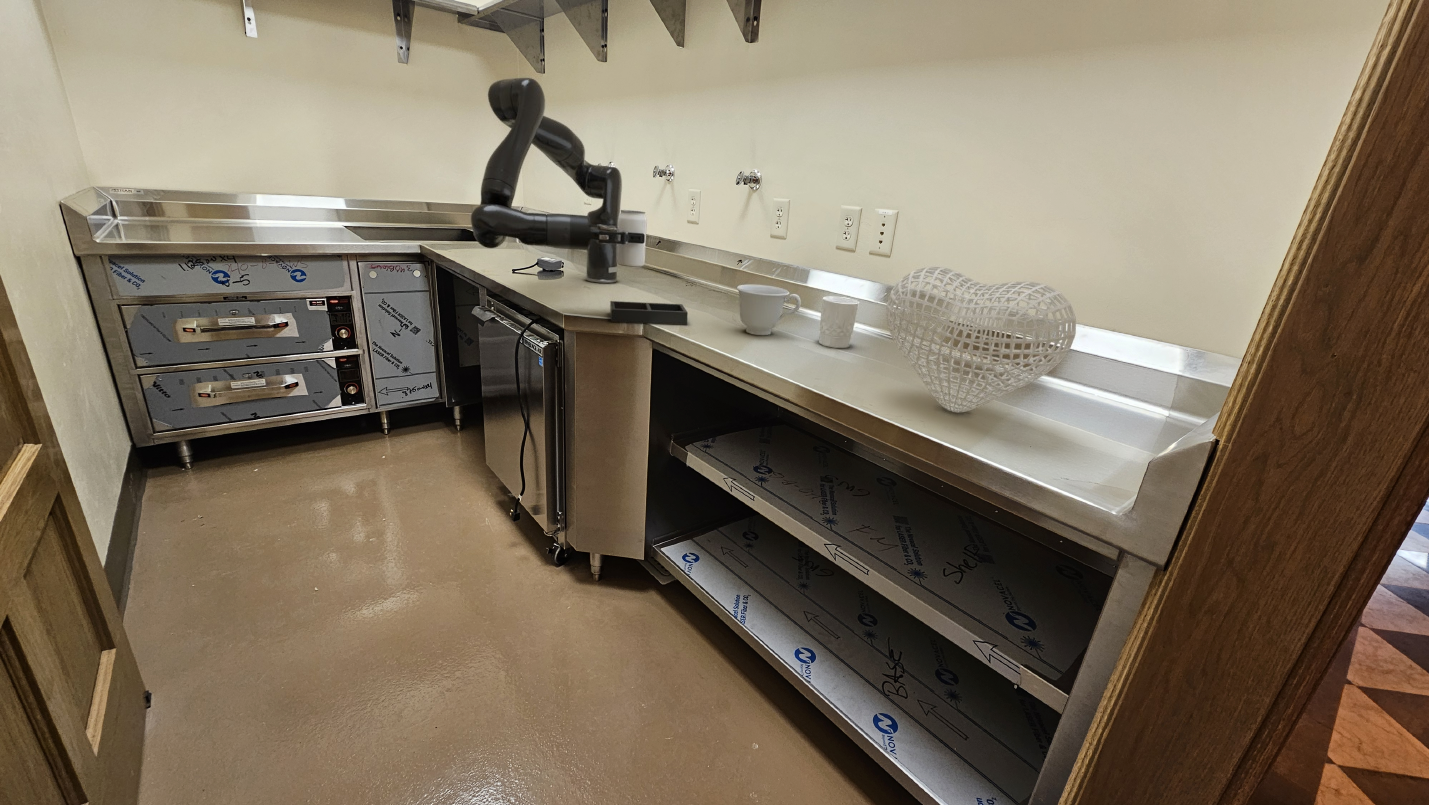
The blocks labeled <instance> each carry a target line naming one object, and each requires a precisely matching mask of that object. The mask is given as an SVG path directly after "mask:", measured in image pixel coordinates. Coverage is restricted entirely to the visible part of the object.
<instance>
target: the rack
mask: <svg viewBox="0 0 1429 805" xmlns="http://www.w3.org/2000/svg"><path fill="white" fill-rule="evenodd" d="M609 304H610V305H609V315H610V322H611V323H623V324H624V323H625V324H650V325H651V324H652V325H677V326H678V325H679V326H680V325H681V326H688V314H689V313H688V311H687V309H686V307H685V306H684V305H683V303H665V302H664V303H663V302H639V301H620V300H619V301H617V300H610V302H609Z"/></svg>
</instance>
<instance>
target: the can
mask: <svg viewBox="0 0 1429 805" xmlns="http://www.w3.org/2000/svg"><path fill="white" fill-rule="evenodd" d="M647 220H648V219H647V217H646V212H645V211H639V210H631V209H620V215H619V218H618V229H619V231H627V232H631V233H643V234H644V235H645V241H644V243H643V244H640V243H626V244H624V245H622V244H617V265H619V266H623V267H629V268H641V267H644V265H645V262H646V261H645V260H646V241H647V224H648V221H647ZM618 239H619V240H620V239H621V235H619V237H618Z"/></svg>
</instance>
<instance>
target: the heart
mask: <svg viewBox="0 0 1429 805" xmlns="http://www.w3.org/2000/svg"><path fill="white" fill-rule="evenodd" d="M939 275H940V276H939ZM929 277H930V278H931V279H929V280H928V279H927V278H929ZM937 280H938V281H939V282H940V283H938V282H935V281H937ZM914 283H915V284H914ZM923 283H924V285H923ZM913 284H914V285H913ZM912 285H913V286H912ZM928 285H929V287H928V289H926V287H927V286H928ZM948 286H951V289H950V288H948ZM957 289H958V290H960V291H959V292H958V291H957ZM934 290H936V291H937V292H935V291H934ZM914 291H916V295H915V297H913V296H912V295H913V294H914ZM921 293H922V294H924V295H925V297H924V299H921V298H919V297H920V296H921ZM941 293H945V294H944V296H943V295H941ZM965 293H968V295H966V294H965ZM1015 294H1017V295H1015ZM1021 294H1022V295H1021ZM1038 294H1040V295H1038ZM952 295H953V299H950V297H951V296H952ZM973 295H974V296H973ZM929 297H933V298H934V300H933V302H929V301H928V299H929ZM960 299H961V300H960ZM938 300H942V301H943V303H942V305H941V306H938V305H937V303H938ZM959 300H960V302H959ZM979 301H981V302H979ZM986 301H989V303H987V304H985V303H986ZM1021 301H1022V302H1025V303H1026V305H1022V306H1021V305H1020V302H1021ZM910 302H913V305H912V307H910ZM995 302H996V303H995ZM1006 302H1007V304H1006ZM1010 302H1013V303H1012V304H1010ZM947 303H949V304H951V306H950V308H949V309H948V308H946V306H947ZM971 303H972V304H971ZM1041 303H1043V304H1044V305H1045V306H1046V307H1042V306H1040V305H1041ZM917 304H920V305H922V308H921V310H920V311H919V310H917ZM926 306H928V307H931V309H930V313H928V312H925V309H926ZM956 306H958V307H959V308H958V310H957V312H955V308H956ZM894 307H895V308H894ZM899 307H900V309H899ZM935 309H937V310H939V314H938V315H936V314H933V313H934V310H935ZM985 309H986V311H985ZM1029 309H1030V310H1035V314H1034V315H1033V314H1031V313H1030V312H1029ZM964 310H965V313H964V314H963V312H964ZM992 310H993V311H995V312H994V313H993V314H992ZM1012 310H1014V311H1015V316H1009V315H1010V313H1011V311H1012ZM1063 310H1064V312H1063ZM984 311H985V313H984ZM1001 311H1006V312H1005V313H1004V314H1003V315H1001ZM1019 311H1020V312H1019ZM899 313H900V314H899ZM905 313H906V317H905ZM943 313H946V314H947V316H946V318H942V316H943ZM1050 313H1051V314H1052V317H1053V318H1049V314H1050ZM1057 313H1059V317H1060V318H1058V317H1057ZM1064 313H1065V315H1064ZM917 314H918V318H917ZM971 314H972V315H971ZM1023 314H1025V315H1024V316H1022V315H1023ZM952 316H954V319H953V321H952V322H951V318H952ZM1065 316H1066V317H1065ZM912 318H913V320H912ZM925 318H927V320H925ZM960 319H962V320H961V321H960ZM885 320H886V324H887V329H888V331H889V334H890V335H891V338H892V340H893V341H894V343H895V345H896V347H897V348H898V350H899V351H900V353H901V354H902V355H903V357H904V358H905V360H906V361H907V362H908V363H909V365H910V366H911V367H912V369H913V370H914V372H915V373H916V374H917V376H918V377H919V378H920V380H921V382H923V384H924V385H925V387H926V388H927V390H928V391H929V392H930V394H931V395H932V396H933V398H934V399H935V400H936V401H937V403H938V404H940V405H941V407H943V409H945V410H947V411H949V412H952V413H965V412H969V411H972V410H974V409H977V408H980V407H982V406H984V405H986V404H988V403H990V402H992V401H994V400H996V399H998V398H1000V397H1003V396H1005V395H1007V394H1009V393H1012V392H1014V391H1016V390H1018V389H1021V388H1022V387H1025V386H1027V385H1029V384H1031V383H1032V382H1035V381H1037V380H1038V379H1040V378H1042V377H1043V376H1045V375H1047V374H1049V373H1050V371H1052V370H1053V369H1054V368H1055V367H1056V366H1058V365H1059V364H1060V363H1061V362H1062V360H1064V358H1065V357H1066V355H1067V354H1068V353H1069V352H1070V350H1071V348H1072V345H1073V343H1074V340H1075V337H1076V333H1077V318H1076V314H1075V311H1074V310H1073V307H1072V305H1071V303H1070V301H1069V300H1068V299H1067V298H1066V297H1065V296H1064V295H1063V294H1062V293H1061V292H1060V291H1059V290H1057V289H1055V288H1053V287H1051V286H1049V285H1047V284H1044V283H1040V282H1034V281H1011V282H1005V283H1004V282H1003V283H995V284H993V283H992V284H987V283H986V284H984V283H982V282H978V281H976V280H974V279H972V278H970V277H968V276H966V275H965V274H963V273H960V272H958V271H957V270H954V269H951V268H947V267H940V266H927V267H922V268H921V267H920V268H918V269H914V270H913V271H911V272H909V273H907V274H905V275H904V276H903V277H901V278H900V280H898V281H897V283H896V284H895V285H894V286H893V287H892V289H891V291H890V293H889V296H888V299H887V301H886V308H885ZM931 320H932V321H935V322H932V321H931ZM986 320H987V322H986ZM1038 320H1039V321H1040V320H1041V321H1043V326H1038ZM977 321H978V322H977ZM995 321H996V323H995ZM1000 321H1001V324H1000V326H999V322H1000ZM1009 321H1013V323H1012V326H1011V327H1008V324H1009ZM1029 321H1032V323H1033V327H1027V324H1028V322H1029ZM959 322H960V323H959ZM968 322H969V323H968ZM1018 322H1019V323H1023V327H1018ZM1050 322H1053V323H1051V324H1050ZM994 323H995V326H994ZM929 324H930V325H931V326H930V327H928V326H929ZM939 324H941V326H940V327H939ZM912 325H914V326H915V328H914V330H913V327H912ZM1004 326H1005V327H1004ZM948 327H949V328H948ZM897 328H898V329H897ZM920 328H921V329H922V330H921V329H920ZM933 328H934V329H933ZM943 328H944V329H943ZM952 328H953V332H952V334H951V333H950V332H951V330H952ZM903 331H904V332H903ZM960 331H962V333H961V337H960V336H957V335H958V334H959V332H960ZM978 331H979V333H978ZM993 331H994V334H993ZM998 331H999V333H998ZM1003 331H1004V334H1003ZM1039 331H1041V332H1042V333H1041V337H1040V338H1039V334H1040V332H1039ZM926 332H927V333H928V334H929V335H930V336H929V337H925V335H926ZM1008 332H1010V338H1007V334H1008ZM1017 332H1018V333H1023V334H1022V338H1017ZM1028 332H1032V335H1031V338H1027V333H1028ZM968 334H970V338H966V336H967V335H968ZM987 334H988V335H987ZM937 335H939V336H941V338H940V339H939V338H938V337H936V336H937ZM997 335H998V337H997ZM1045 335H1046V338H1045ZM910 336H912V338H911V337H910ZM977 336H978V337H979V338H976V337H977ZM1002 336H1003V337H1002ZM1054 336H1055V337H1054ZM946 338H949V339H950V340H949V341H948V343H946V342H944V339H946ZM919 339H920V340H919ZM955 340H957V341H960V342H959V343H958V345H957V346H954V342H955ZM923 343H926V345H928V347H925V346H923ZM964 343H967V344H969V345H968V347H967V348H964ZM985 343H988V345H985ZM1052 343H1053V345H1052V347H1050V346H1051V344H1052ZM995 344H998V347H996V346H995ZM1006 344H1009V348H1005V346H1006ZM1016 344H1021V349H1015V348H1016V347H1015V346H1016ZM1026 344H1030V348H1029V349H1025V347H1026ZM1038 344H1039V347H1038ZM1043 344H1044V346H1043ZM1058 345H1059V347H1057V346H1058ZM937 346H939V347H938V349H937V348H936V347H937ZM974 346H977V347H979V348H978V350H977V349H974ZM943 347H944V348H943ZM1037 347H1038V348H1037ZM942 348H943V350H942ZM983 348H987V349H988V350H983ZM1056 348H1057V349H1056ZM948 349H949V352H948V353H947V354H946V353H945V352H946V351H947V350H948ZM953 350H955V351H954V352H953ZM994 350H995V351H994ZM958 352H959V357H958V356H956V355H957V354H958ZM922 353H924V354H925V355H926V356H925V355H922ZM931 354H935V355H933V356H931ZM974 355H976V356H975V358H974ZM993 355H995V356H993ZM996 355H998V356H996ZM1004 355H1009V359H1008V358H1003V356H1004ZM1014 355H1019V358H1015V359H1014ZM1024 355H1028V357H1027V358H1026V359H1025V358H1024ZM968 356H970V358H968ZM1034 356H1035V357H1034ZM1045 356H1047V357H1046V358H1044V357H1045ZM943 358H948V362H945V361H943ZM979 358H980V360H979ZM984 358H987V359H986V361H984ZM955 360H956V361H959V365H956V364H954V362H955ZM994 360H996V361H994ZM1049 360H1050V361H1049ZM1048 361H1049V362H1048ZM935 363H936V365H935ZM965 363H970V368H968V367H964V366H965ZM1017 363H1019V364H1018V365H1017ZM930 364H931V365H930ZM1026 364H1028V365H1029V366H1026V367H1024V366H1025V365H1026ZM976 365H979V366H981V369H982V370H979V369H975V368H976ZM1006 365H1008V367H1007V366H1006ZM1000 366H1001V367H1002V368H1001V367H1000ZM1012 366H1013V367H1012ZM944 368H947V370H946V369H944ZM987 368H989V369H992V370H993V371H992V370H991V371H989V370H988V371H987ZM953 369H959V372H953ZM1031 369H1032V370H1031ZM931 370H933V372H934V373H932V372H931ZM964 371H967V372H969V374H968V375H965V374H964ZM976 374H979V376H978V377H976ZM1001 374H1003V375H1002V376H1001ZM994 376H996V377H994ZM982 377H984V379H982ZM953 378H958V379H957V380H955V379H953ZM935 379H936V381H935ZM963 379H964V380H966V382H963ZM942 381H943V382H942ZM946 381H947V382H946ZM970 381H971V382H970ZM969 382H970V383H969ZM978 384H980V385H982V386H981V387H980V386H977V385H978ZM998 384H999V385H998ZM962 388H963V389H962ZM986 388H987V389H986ZM966 389H967V390H966ZM953 390H954V391H953ZM952 397H954V398H952Z"/></svg>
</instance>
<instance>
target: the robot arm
mask: <svg viewBox="0 0 1429 805" xmlns="http://www.w3.org/2000/svg"><path fill="white" fill-rule="evenodd" d="M487 100H488V103H489V107H490V109H491V111H492V113H493V114H494V115H495V117H496V118H497V119H498V120H499V121H500V122H501V123H503V125H505V126H506V127H508V128H510V130H509V132H508V133H507V134H506V136H505V137H504V139H503V140H502V141H501V142H500V143H499V145H498V146H497V147H496V148H495V149H494V150H493V152H492V153H491V155H490V157H489V158H488V161H487V163H486V166H485V169H484V172H483V176H482V181H481V185H480V203H479V205H477V206H476V207H475V208H474V209H473V210H472V212H471V214H470V224H471V228H472V233H473V234H472V235H473V236H474V238H475V240H476V242H477V243H478V244H479V245H481V246H482V247H483V248H487V249H497V248H498V247H501V245H503V244H504V242H505V241H506V240H507V238H513V239H517V240H518V241H519V242H520V243H521V244H523V245H526V246H529V247H547V248H552V249H560V250H575V251H576V250H577V251H586V276H585V279H586V281H588V282H590V283H598V284H614V283H616V282H617V283H618V272H619V266H618V263H617V244H622V245H624V244H626V243H640V244H643V243H644V241H645V235H644V234H643V233H631V232H627V231H619V229H618V218H619V215H620V213H621V202H622V193H623V192H622V190H623V179H622V174H621V172H620V170H619V168H617V167H615V166H609V165H599V164H598V165H597V164H592V163H590V162H588V161H587V160H586V149H585V145H584V143H583V141H582V140H581V139H580V137H579V136H577V134H576V133H575V132H573V130H572V129H571V128H570V127H568V126H567V125H565V124H564V123H562V122H560V121H558V120H555V119H553V118H551V117H549V116H545V115H544V114H545V110H546V98H545V92H544V90H543V88H542V86H541V84H540V83H539V82H538V81H537V80H536V79H534V78H532V77H514V78H503V79H500V80H497V81H494V82H493V83H491V84H490V86H489V88H488V91H487ZM532 145H533V146H534V147H535V148H537V149H538V150H539V151H540V152H541V153H543V154H544V155H545V157H547V158H548V159H549V160H550V161H551V162H552V163H553V164H555V165H556V166H557V167H558V168H559V169H560V170H562V171H563V172H564V173H565V174H566V175H567V176H568V177H570V179H571V180H572V181H573V182H574V183H575V184H576V186H577V187H578V188H579V189H580V190H581V191H582V192H583V194H584V195H586V196H587V197H589V198H592V199H596V200H602V204H601V206H600V207H598V208H596V209H594V210H591V211H588V212H587V215H584V214H583V215H581V214H571V213H570V214H568V213H541V212H526V211H523V210H520V209H517V208H512V206H513V203H514V202H513V201H514V199H515V195H516V191H517V187H518V183H519V178H520V175H521V171H522V168H523V165H524V162H525V159H526V156H527V155H528V152H529V150H530V148H531V146H532ZM619 235H621V239H620V240H619V239H618V237H619Z"/></svg>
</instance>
